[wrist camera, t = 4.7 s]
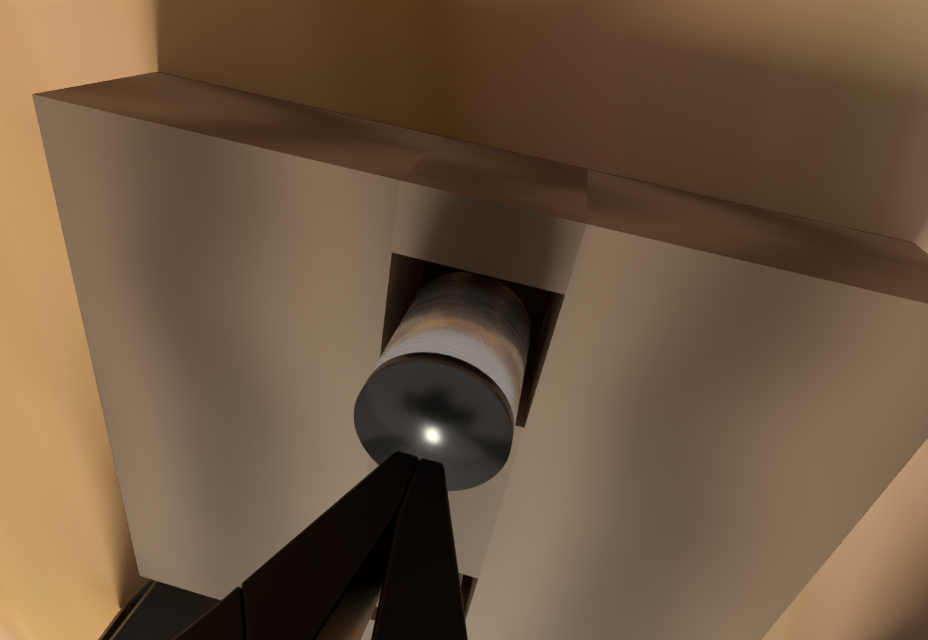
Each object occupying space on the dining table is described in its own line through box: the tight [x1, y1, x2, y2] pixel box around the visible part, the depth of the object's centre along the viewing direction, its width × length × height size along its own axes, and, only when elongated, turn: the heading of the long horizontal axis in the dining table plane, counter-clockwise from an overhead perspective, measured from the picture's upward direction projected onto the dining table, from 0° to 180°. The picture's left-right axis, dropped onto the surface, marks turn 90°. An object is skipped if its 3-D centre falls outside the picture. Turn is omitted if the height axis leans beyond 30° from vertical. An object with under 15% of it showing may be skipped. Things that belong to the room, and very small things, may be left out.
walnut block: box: [32, 72, 928, 640], centre depth 17 cm, size 20×17×4 cm
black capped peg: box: [354, 272, 531, 491], centre depth 12 cm, size 3×3×4 cm
